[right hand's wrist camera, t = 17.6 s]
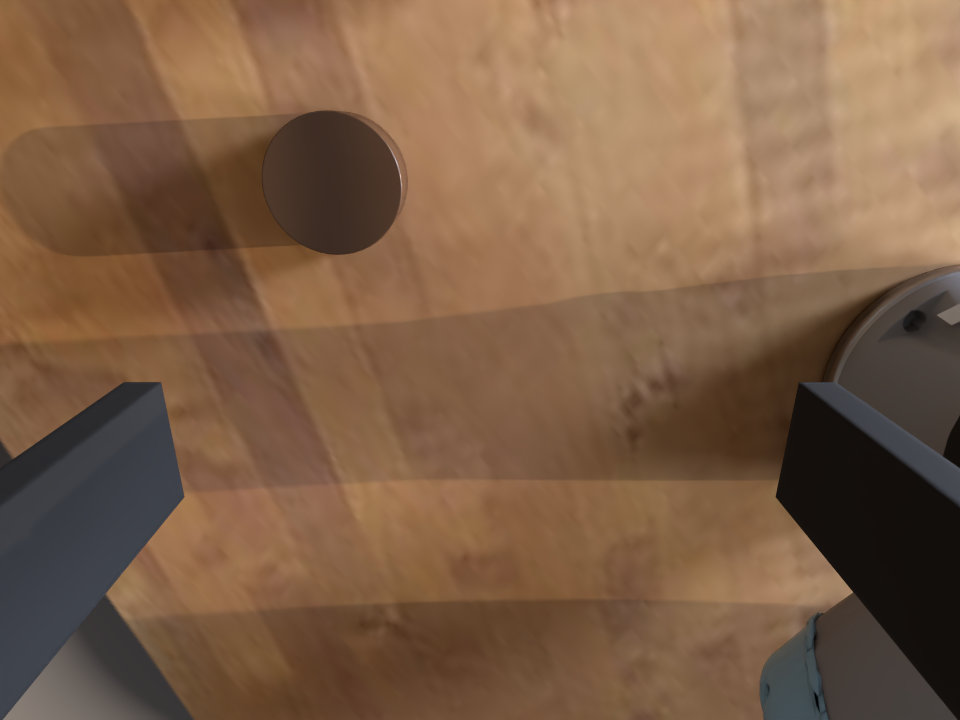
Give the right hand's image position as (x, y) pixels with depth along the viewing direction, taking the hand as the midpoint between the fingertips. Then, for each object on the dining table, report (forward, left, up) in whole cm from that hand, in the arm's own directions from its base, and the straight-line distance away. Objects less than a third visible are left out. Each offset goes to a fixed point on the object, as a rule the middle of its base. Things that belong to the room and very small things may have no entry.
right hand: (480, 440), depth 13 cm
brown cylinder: (+7, -3, -25) cm, 26 cm away
